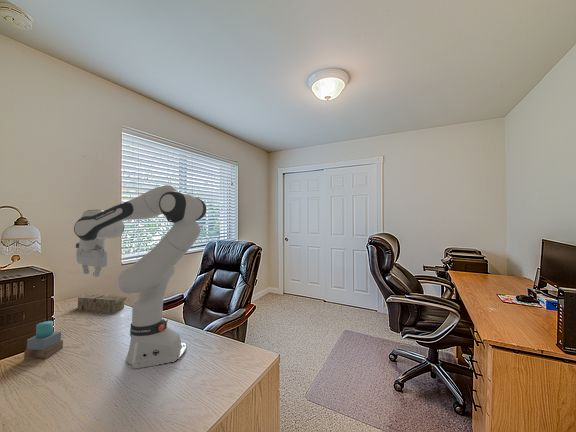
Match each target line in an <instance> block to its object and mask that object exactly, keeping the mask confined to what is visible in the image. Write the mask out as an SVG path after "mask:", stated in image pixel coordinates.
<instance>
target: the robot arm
mask: <svg viewBox="0 0 576 432" xmlns="http://www.w3.org/2000/svg"><path fill="white" fill-rule="evenodd" d="M206 213H207V205H206V203H205V202H204V201H203V200H202V199H200V198H198V197H197V196H196V197H195V196H194V195H191V194H189V193H186V192H185V193H184V192H180V191H178V189H177V188H176V187H175V186H173V185H171V184H162V185H159V186H156V187H154V188H152V189H150V190H148V191H146V192H144V193H142V194H141V195H138V196H136V197H134V198H131V199H129V200H127V201H125V202H122V203H119V204H116V205H114V206H111V207H109V208H107V209H105V210H102V209H88V210H85V211H84V212H82V214H81V217H80V218H79V219H78V220H77V221H76V222H75V223H74V226H73V231H74V234H75V235H76V236H77V237H78V238H79V241H78V242H77V243H76V244H75V249H76V262H77V264H81V266H82V270H83V272H82V273H83V274H84V275H89V274H90V269H89V267H93V268H94V272H93V277H95V278H97V277H100V273H101V270H102V268H105V267H107V265H108V254H107V250H106V249H105V245H106V244H105V243H106V242H105V240H106V239H115V238H119V237H121V236H122V235H123V234H124V231H125V224H124V222H123V221H132V220H149V219H153V218H156V217H158V216H161V215H163V216H164V217H165V219H166V221H168V222H169V223H173V224H172V227H171V228H170V229H169V230H168V231H167V233H166V234H165V235H164V236H163V237H162V238H161V239H160V240H159V242H158V243H157V244H156V245H155V246H154V247H152V249H151V250H149V251H148V252H147V253H145V254H144V255H143V256H142V257H140V259H138V260H137V261H136V262H134V263H133V264H132V265H130V266H129V267H127V268H125V269H124V270H122V271H121V272H120V273H119V275H118V277H117V285H118V286H117V287H118V288H119V289H120V290H121V291H122V293H124V294H137V293H138V296H137V298H135V300H134V302H133V303H132V307H131V309H132V310H131V312H132V314H131V315H132V316H131V323H130V328H129V331H130V332H129V336H130V341H129V347H128V348H129V349H128V352H127V355H126V358H125V362H126V363H127V364H129V365H131V368H132V369H141V368H149V367H154V366H160V365H159V364H161V365H165V364H164V363H168V364H170V363H169V362H173V361H176V360H177V359H179V358H180V357H181V356H182V355H183V353H184V352H186V351H187V344H186V343H185V342H182V339H181V336H180V334H179V333H178V332H176V331H174V330H173V329H172V328H170V327H168V322H169V319H166V320H165V319H164V317H163V311H164V310H163V308H164V298H165V295H166V292H167V289H168V286H169V283H170V281H171V279H172V278H173V276H174V274H175V265H176V264H178V263H179V261H180V260H181V259H182V258H183V257H184V256H185V255H186V253H187V252H188V251H189V250H190V249H191V247H192V246H193V245H194V244H195V243H196V241H197V239H198V238H199V235H201V227H200V225H199V223H198V222H197V221H199V220H201V219H203V218H204V217H205V215H206ZM183 346H184V347H183ZM185 350H186V351H185ZM184 354H185V353H184ZM183 356H184V355H183ZM183 356H182V357H183ZM182 357H181V358H182ZM181 358H180V359H181ZM180 359H179V360H180ZM177 361H178V360H177ZM177 361H176V362H177Z"/></svg>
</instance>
